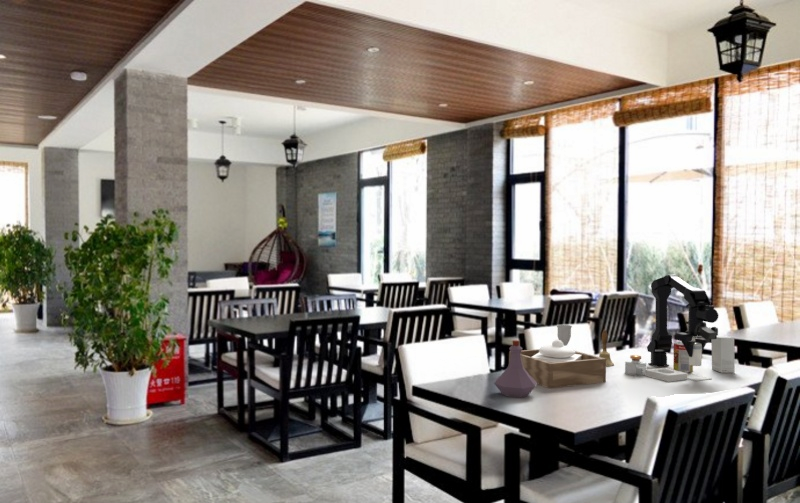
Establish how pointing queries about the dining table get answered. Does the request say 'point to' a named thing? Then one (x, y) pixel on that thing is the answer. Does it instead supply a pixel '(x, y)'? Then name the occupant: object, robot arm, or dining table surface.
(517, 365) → the flask
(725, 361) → the skincare box
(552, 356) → the butter dish
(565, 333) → the chalice
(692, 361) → the white cylinder
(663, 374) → the white flat block
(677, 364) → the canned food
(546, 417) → the dining table surface
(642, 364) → the plunger block
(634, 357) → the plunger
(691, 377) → the mat
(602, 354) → the hand bell
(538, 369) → the wooden tray box
